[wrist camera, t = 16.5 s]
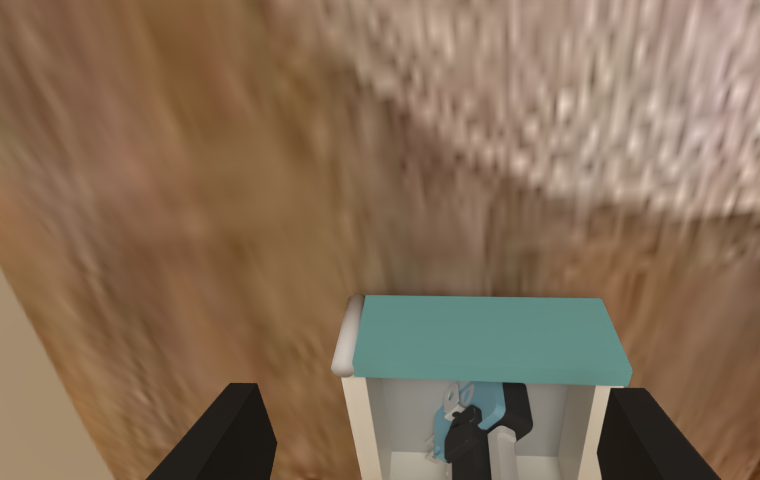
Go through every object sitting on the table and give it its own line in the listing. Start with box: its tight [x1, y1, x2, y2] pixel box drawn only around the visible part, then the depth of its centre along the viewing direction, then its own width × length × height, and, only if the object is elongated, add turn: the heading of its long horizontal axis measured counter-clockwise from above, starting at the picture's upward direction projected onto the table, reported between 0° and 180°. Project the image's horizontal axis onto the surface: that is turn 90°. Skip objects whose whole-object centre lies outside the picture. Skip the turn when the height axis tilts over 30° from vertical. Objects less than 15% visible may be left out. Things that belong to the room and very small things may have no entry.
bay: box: [341, 374, 623, 480], centre depth 23 cm, size 11×11×4 cm
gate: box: [331, 294, 633, 386], centre depth 20 cm, size 11×1×4 cm, turn 94°
